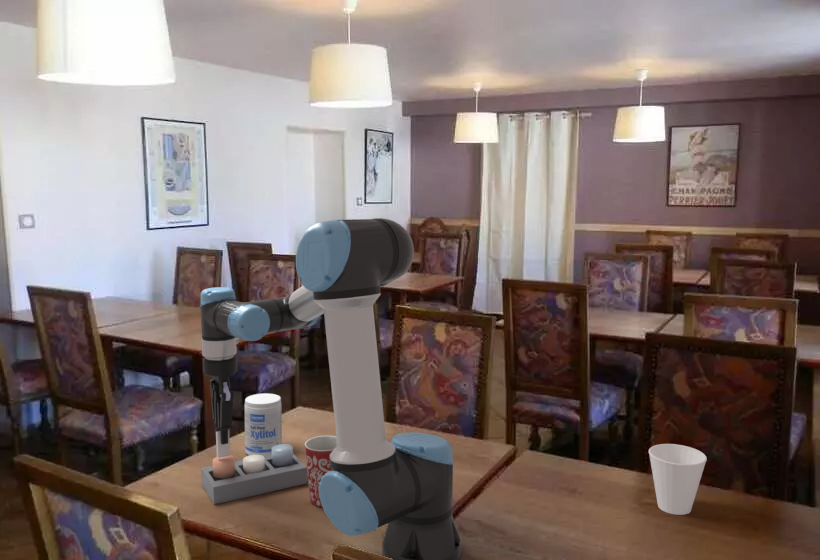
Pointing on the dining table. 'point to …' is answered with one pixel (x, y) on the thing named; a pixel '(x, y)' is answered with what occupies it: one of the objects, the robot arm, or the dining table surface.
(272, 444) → the supplement tub
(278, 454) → the pale blue dome
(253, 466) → the white domed button
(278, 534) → the dining table surface
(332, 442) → the mug
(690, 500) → the cup
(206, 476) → the grey compartment tray
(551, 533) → the dining table surface
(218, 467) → the peach round dome
